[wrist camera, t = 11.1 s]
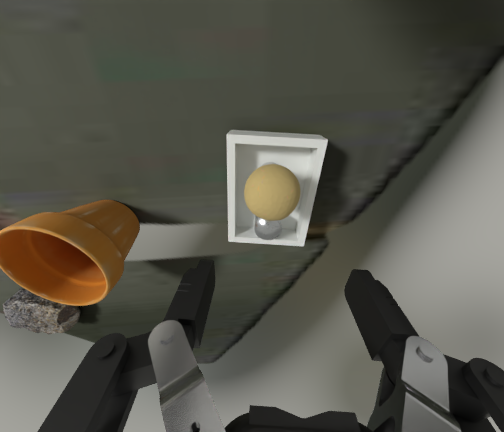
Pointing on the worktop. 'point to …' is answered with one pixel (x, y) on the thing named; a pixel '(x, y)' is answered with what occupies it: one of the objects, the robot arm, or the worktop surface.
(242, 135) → the tray
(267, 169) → the amber frosted bulb
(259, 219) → the grey rounded piece
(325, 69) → the worktop surface
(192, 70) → the worktop surface
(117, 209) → the flower pot
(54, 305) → the rock
